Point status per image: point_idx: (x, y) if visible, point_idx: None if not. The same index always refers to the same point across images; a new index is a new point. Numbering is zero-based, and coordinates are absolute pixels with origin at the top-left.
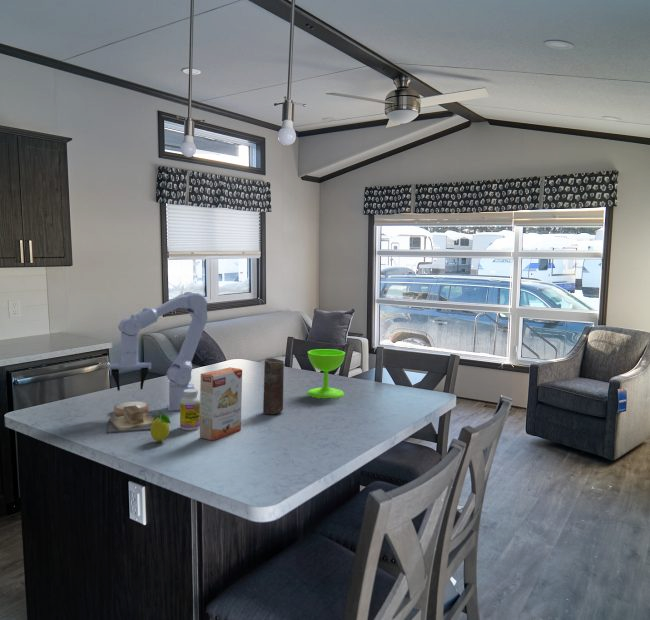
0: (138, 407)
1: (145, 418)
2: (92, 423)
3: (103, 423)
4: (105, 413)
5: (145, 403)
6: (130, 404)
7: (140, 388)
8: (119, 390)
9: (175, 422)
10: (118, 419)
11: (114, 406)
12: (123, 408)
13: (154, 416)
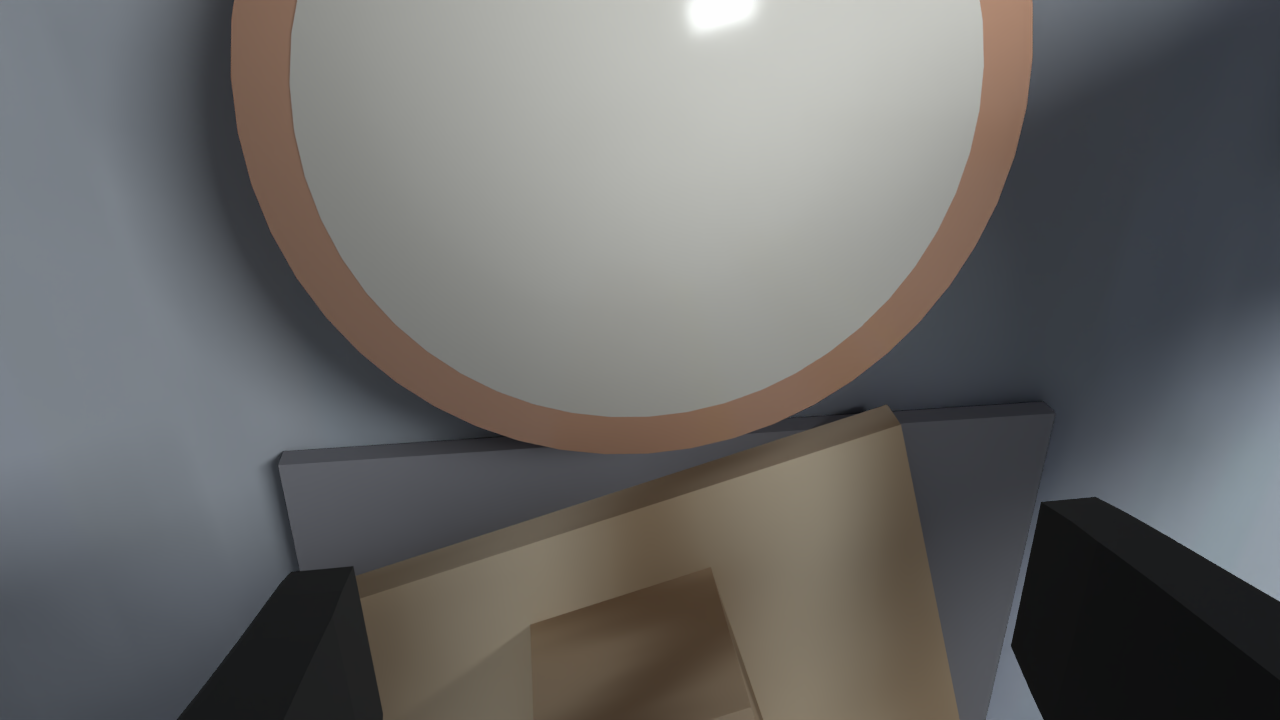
0: (793, 323)
1: (843, 692)
2: (52, 616)
3: (234, 634)
4: (82, 53)
5: (977, 11)
6: (628, 27)
7: (1029, 572)
8: (375, 715)
9: None
10: (458, 695)
11: (253, 124)
12: (492, 344)
13: (985, 504)
